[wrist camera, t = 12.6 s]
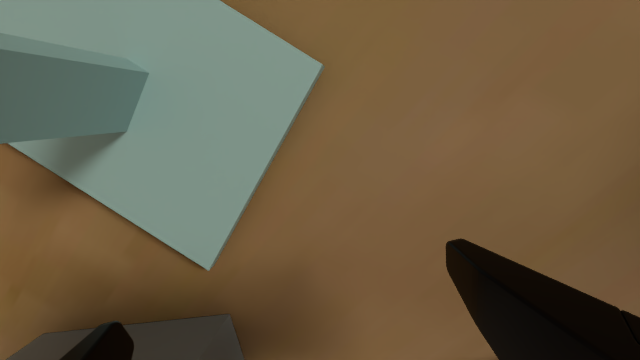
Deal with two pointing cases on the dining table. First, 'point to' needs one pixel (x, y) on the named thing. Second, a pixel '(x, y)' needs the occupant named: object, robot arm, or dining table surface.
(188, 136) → the lid
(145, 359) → the tub
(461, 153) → the dining table surface
